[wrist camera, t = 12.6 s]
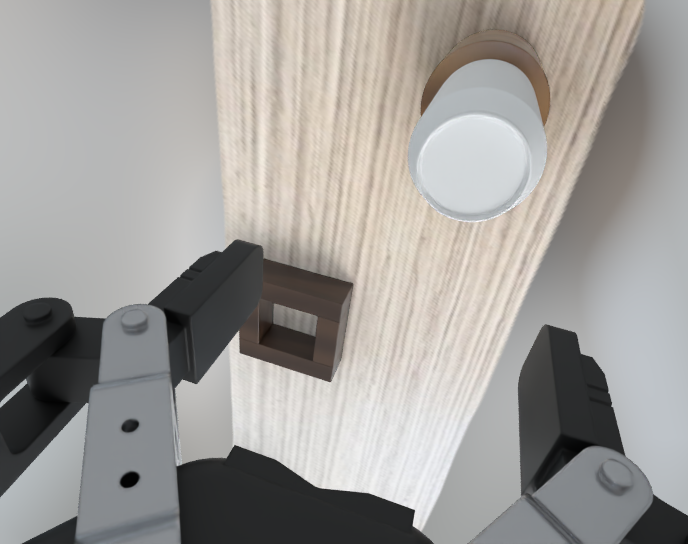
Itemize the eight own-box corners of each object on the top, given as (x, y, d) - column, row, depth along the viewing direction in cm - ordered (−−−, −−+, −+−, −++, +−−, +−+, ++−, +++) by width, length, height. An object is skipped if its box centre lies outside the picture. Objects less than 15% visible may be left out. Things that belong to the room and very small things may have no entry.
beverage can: (558, 95, 28) (585, 155, 18) (489, 174, 31) (481, 259, 22) (477, 34, 27) (459, 62, 18) (416, 121, 31) (374, 184, 21)
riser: (469, 9, 33) (460, 15, 27) (565, 60, 33) (579, 78, 27) (418, 109, 38) (400, 135, 32) (502, 154, 38) (501, 189, 32)
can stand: (255, 256, 52) (238, 274, 48) (353, 283, 50) (342, 304, 46) (254, 332, 58) (239, 353, 55) (340, 359, 56) (330, 382, 53)
